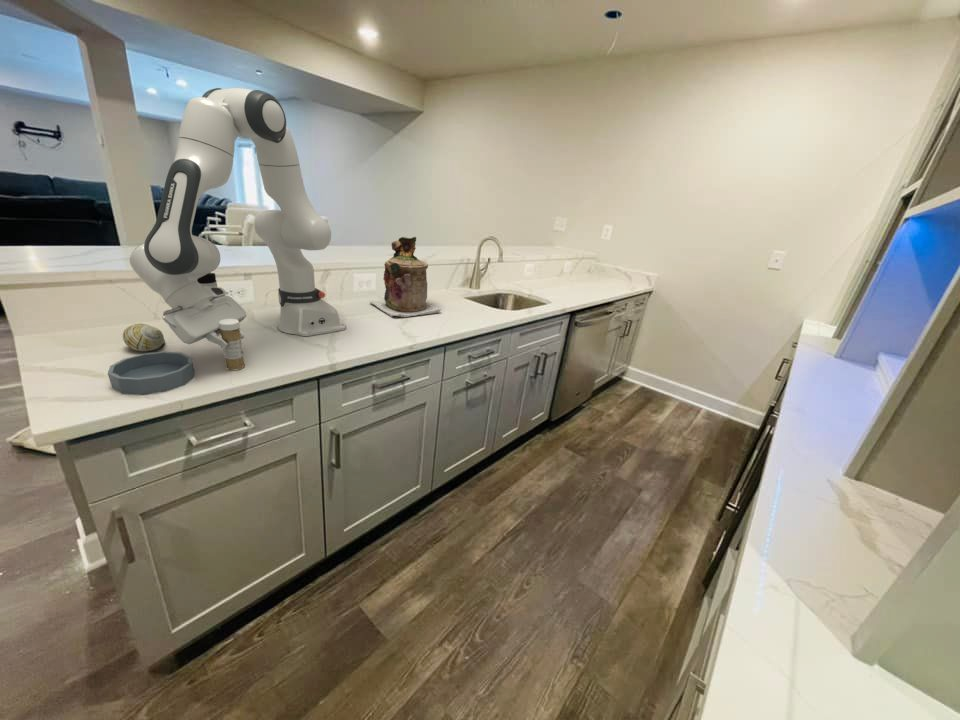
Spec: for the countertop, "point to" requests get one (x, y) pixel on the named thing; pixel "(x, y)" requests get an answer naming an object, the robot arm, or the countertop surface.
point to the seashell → (143, 337)
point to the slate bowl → (151, 373)
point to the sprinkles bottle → (232, 344)
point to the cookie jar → (405, 282)
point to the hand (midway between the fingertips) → (234, 342)
